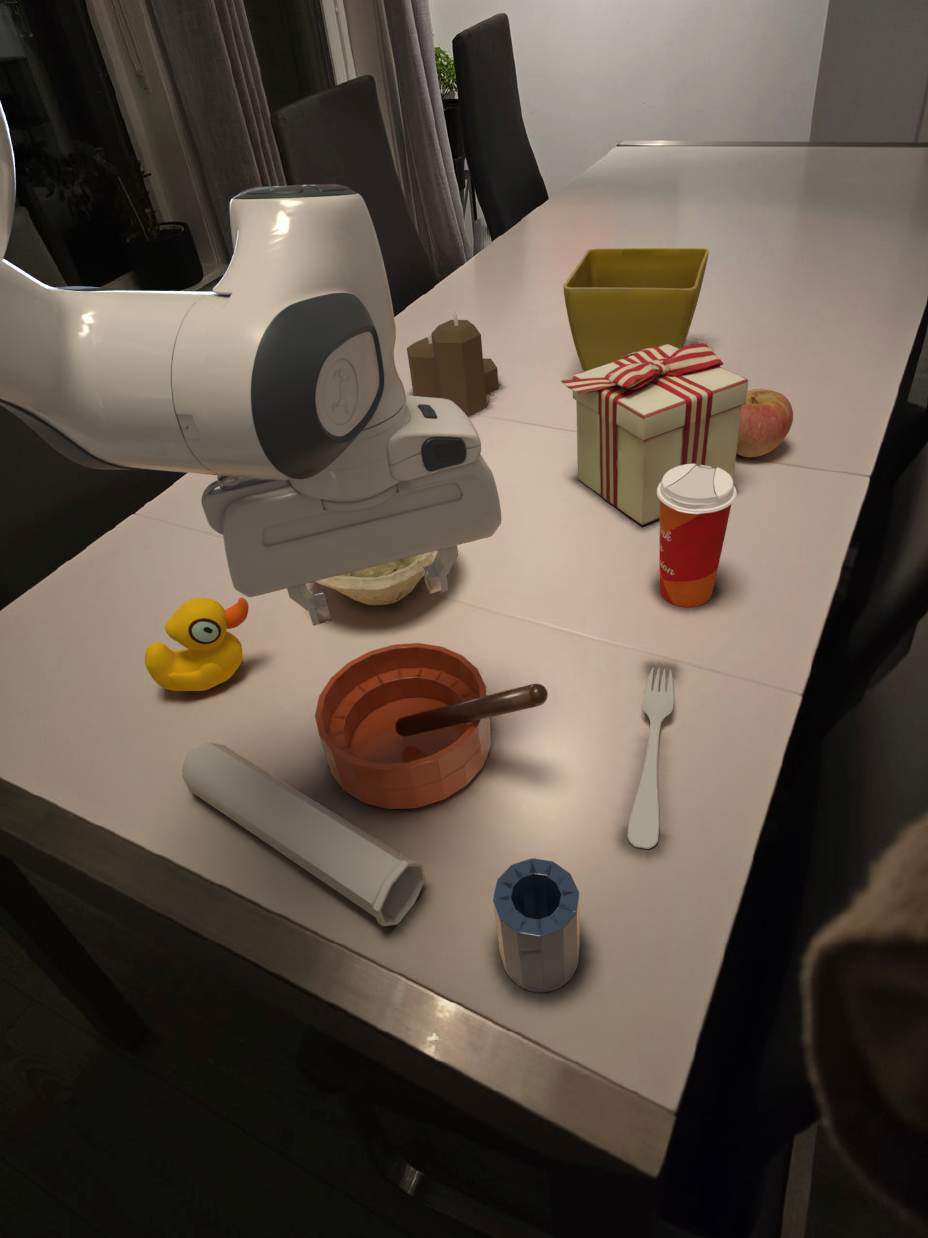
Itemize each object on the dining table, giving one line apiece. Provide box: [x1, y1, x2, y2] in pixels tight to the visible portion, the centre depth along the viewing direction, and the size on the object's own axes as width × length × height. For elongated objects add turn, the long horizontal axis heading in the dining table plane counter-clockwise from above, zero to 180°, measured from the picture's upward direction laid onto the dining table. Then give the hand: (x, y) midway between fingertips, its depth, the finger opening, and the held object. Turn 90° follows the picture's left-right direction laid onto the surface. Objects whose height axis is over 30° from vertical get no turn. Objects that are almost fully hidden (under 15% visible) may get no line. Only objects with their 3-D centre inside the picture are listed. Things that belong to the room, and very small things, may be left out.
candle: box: [406, 310, 500, 417], centre depth 126 cm, size 14×14×15 cm
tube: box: [181, 742, 426, 927], centre depth 67 cm, size 5×5×25 cm
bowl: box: [314, 550, 438, 606], centre depth 90 cm, size 14×18×15 cm
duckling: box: [144, 597, 249, 692], centre depth 82 cm, size 11×5×10 cm, turn 112°
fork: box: [626, 667, 675, 850], centre depth 72 cm, size 3×21×3 cm, turn 165°
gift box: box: [560, 342, 749, 526], centre depth 101 cm, size 17×18×17 cm
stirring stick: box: [395, 683, 549, 737], centre depth 69 cm, size 2×2×17 cm
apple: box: [736, 388, 794, 458], centre depth 107 cm, size 9×9×8 cm
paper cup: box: [657, 464, 738, 608], centre depth 84 cm, size 8×8×14 cm
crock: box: [492, 857, 581, 994], centre depth 56 cm, size 6×6×8 cm
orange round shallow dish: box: [314, 642, 492, 810], centre depth 73 cm, size 15×15×6 cm
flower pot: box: [562, 247, 710, 372], centre depth 126 cm, size 19×19×17 cm
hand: (379, 603), depth 63 cm, fingers open, 8 cm apart
